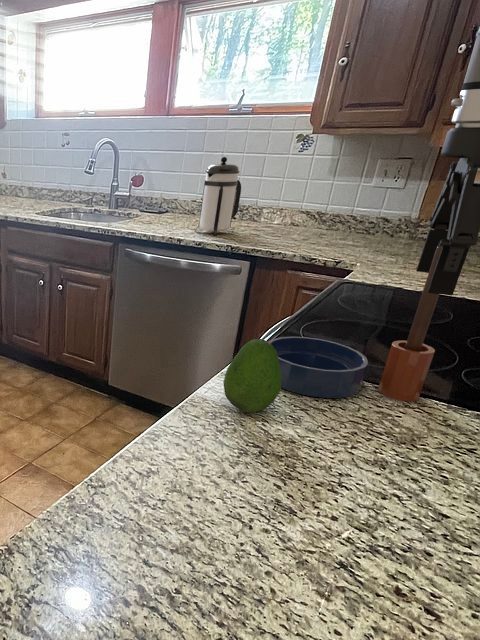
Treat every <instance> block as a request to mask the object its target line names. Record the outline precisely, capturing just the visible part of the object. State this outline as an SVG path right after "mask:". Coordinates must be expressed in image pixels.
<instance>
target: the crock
mask: <svg viewBox="0 0 480 640" xmlns="http://www.w3.org/2000/svg"><path fill="white" fill-rule="evenodd" d="M406 342H407V340H394V341H392V343H391V346H390V348H389V352H388V355H387V359H386V362H385V364H384V368H383V370H382V371H383V372H382V375H381V378H380V381H379V384H378V387H377V391H378V392H379V394H381V395H383V396H384V397H386V398H389V399H392V400H395V401H400V402H417V401H419V399H420V395H421V393H422V389H423V387H424V384H425V381H426V378H427V376H428V372H429V370H430V367H431V364H432V361H433V358H434V355H435V352H436V349H435V348H434V347H433V346H430V345H427V344H425V343H423V344H422V347H421V350H420V352H418V351H411V350H407V349H404V348H405V345H406Z"/></svg>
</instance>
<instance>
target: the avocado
mask: <svg viewBox="0 0 480 640" xmlns="http://www.w3.org/2000/svg"><path fill="white" fill-rule="evenodd" d="M281 380H282V375H281V369H280V364H279V359H278V355H277V352H276V350H275V349H274V347H273V346H272V345H271V344H270V343H269V341H267V340H266V339H263V338H252V339H251V340H249V341H247V342H246V343H245V344H244V345H243V346H241V348H240V350H239V351H238V352H237V354H236V355H235V356H234V358H233V359H232V360H231V362H230V363H229V365H228V366H227V369H226V371H225V374H224V378H223V391H224V392H223V393H224V395H225V398H226V399H227V401H228V402H229V403H230V404H231V405H232V406H233V407H234V408H236V409H237V410H239V411H240V412H245V413H256V412H261V411H264V410H265V409H267V408H269V406H270V405H272V404H273V403H274V402H275V401H276V399H277V397H278V396H279V394H280V393H281V391H282V388H281Z"/></svg>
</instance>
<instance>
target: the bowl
mask: <svg viewBox="0 0 480 640" xmlns="http://www.w3.org/2000/svg"><path fill="white" fill-rule="evenodd" d="M268 342H269V343H270V344H271V345H272V346H273V347H274V349H275V350H276V352H277V355H278V359H279V364H280V369H281V375H282V380H281V389H283V390H285V391H289V392H292V393H296V394H299V395H302V396H309V397H315V398H325V399H327V398H328V399H340V398H349V397H351V396H354V395H357V394H358V393H359V392H360V390H361V389H362V386H363V383H364V380H365V376H366V372H367V370H368V366H369V361H368V358H367V356H365V355H364V354H363V353H362V352H360V351H358V350H356V349H355V348H352V347H351V346H347V345H344V344H342V343H338V342H335V341H332V340H326V339H322V338H317V337H316V338H315V337H309V336H308V337H307V336H283V337H282V336H281V337H276V338H272V339H270V340H269V341H268Z"/></svg>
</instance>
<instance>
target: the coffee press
mask: <svg viewBox="0 0 480 640" xmlns="http://www.w3.org/2000/svg"><path fill="white" fill-rule="evenodd" d="M220 161H221V163H212V164H210V165H209V166H207V169H206V170H205V180H204V183H203V189H202V198H201V206H200V212H199V220H198V225H197V227H196V228H195V229H194V232H195V233H196V234H197V233H200V232H201V231H205V232H212V236H213V237H217V234H218V232H228V231H229V229H230V230H231V232H229V234H230V235H232V234H233V232H234V231H233V229H232V220H233V218H235V217H236V215H237V214H238V210H239V207H240V206H239V205H240V200H241V193H242V182H241V181H240V180H239V179H238V178H239V174H240V169H239V167H238V166H237V165H236V164H234V163H227V161H228V158H227V156H223V157H221V159H220ZM198 228H199V230H197V229H198ZM196 230H197V231H196Z"/></svg>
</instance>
